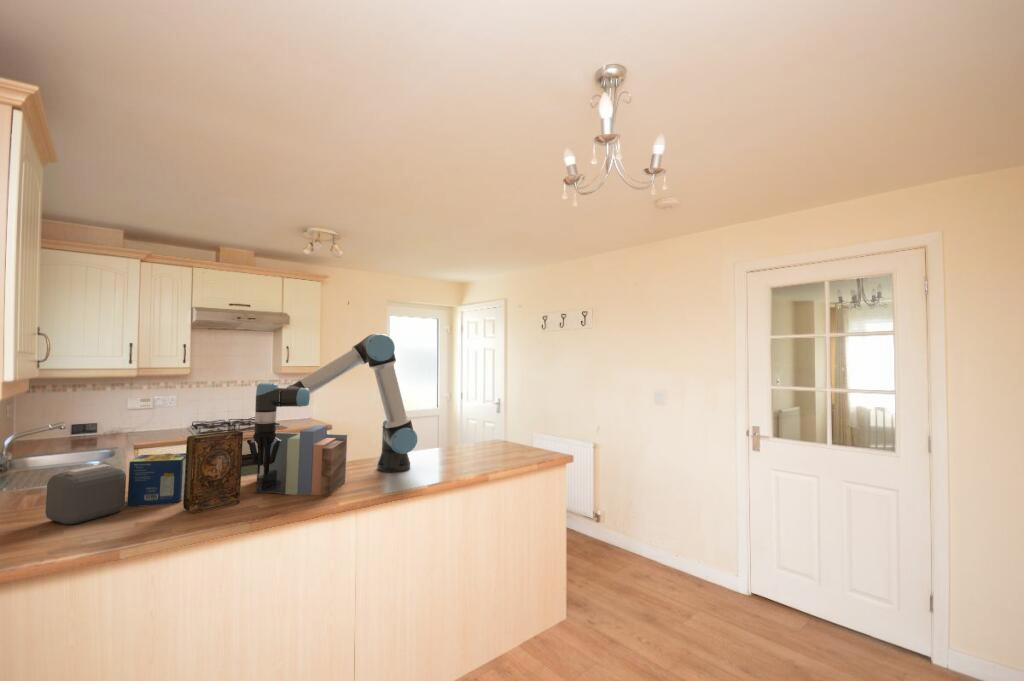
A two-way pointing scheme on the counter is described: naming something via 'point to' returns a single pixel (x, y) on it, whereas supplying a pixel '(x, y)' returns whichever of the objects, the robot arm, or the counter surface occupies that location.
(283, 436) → the back rail
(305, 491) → the navy book
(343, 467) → the end stop
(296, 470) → the green book
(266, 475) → the bookend
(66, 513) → the grey rounded-edge box
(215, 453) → the book
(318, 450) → the terracotta book
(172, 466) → the protein box
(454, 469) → the counter surface
